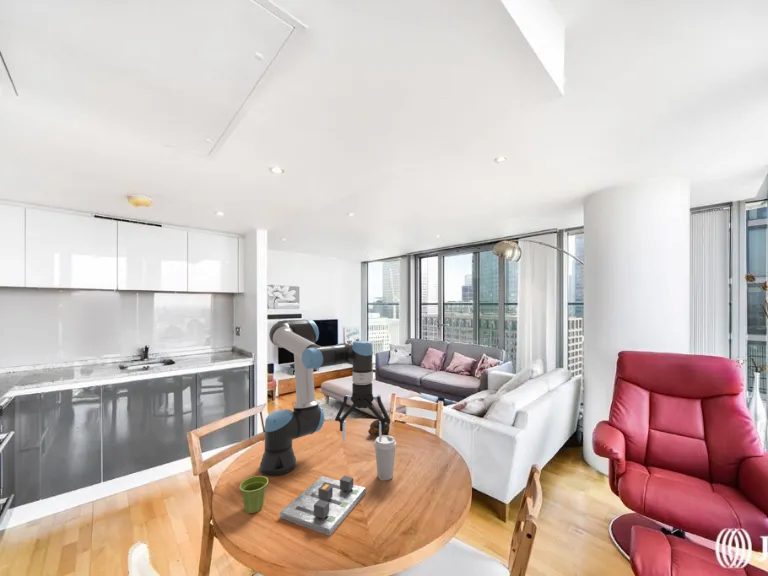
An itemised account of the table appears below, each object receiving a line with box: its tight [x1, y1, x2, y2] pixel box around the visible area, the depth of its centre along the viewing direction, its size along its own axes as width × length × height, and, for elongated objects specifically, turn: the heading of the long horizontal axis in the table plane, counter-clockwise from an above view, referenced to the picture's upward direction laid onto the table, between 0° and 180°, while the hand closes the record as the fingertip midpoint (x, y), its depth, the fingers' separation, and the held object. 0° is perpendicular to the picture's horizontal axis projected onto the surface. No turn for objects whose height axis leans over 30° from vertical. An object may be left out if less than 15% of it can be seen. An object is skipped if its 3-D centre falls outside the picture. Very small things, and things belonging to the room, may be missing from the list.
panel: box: [279, 475, 367, 537], centre depth 112 cm, size 20×24×2 cm
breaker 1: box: [318, 484, 333, 501], centre depth 112 cm, size 4×3×4 cm
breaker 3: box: [339, 475, 354, 492], centre depth 118 cm, size 4×3×4 cm
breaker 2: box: [314, 499, 329, 519], centre depth 103 cm, size 4×3×4 cm
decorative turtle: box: [367, 417, 391, 436], centre depth 173 cm, size 10×15×8 cm, turn 137°
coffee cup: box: [373, 435, 397, 481], centre depth 131 cm, size 10×10×15 cm
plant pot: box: [238, 475, 269, 515], centre depth 110 cm, size 9×9×9 cm
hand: (362, 440), depth 117 cm, fingers open, 13 cm apart
